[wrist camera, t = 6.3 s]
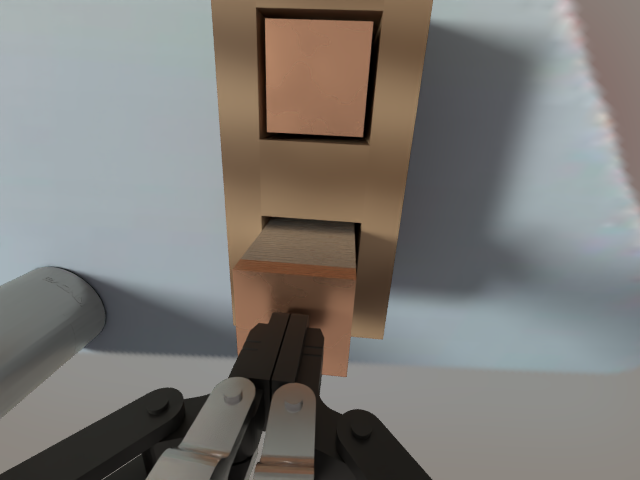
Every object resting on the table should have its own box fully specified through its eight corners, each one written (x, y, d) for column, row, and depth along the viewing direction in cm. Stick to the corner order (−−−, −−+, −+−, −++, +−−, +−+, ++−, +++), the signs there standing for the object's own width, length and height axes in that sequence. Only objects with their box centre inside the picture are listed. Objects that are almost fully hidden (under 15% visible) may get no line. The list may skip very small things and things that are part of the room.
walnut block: (373, 274, 29) (382, 339, 20) (266, 266, 29) (233, 325, 21) (405, 15, 21) (440, -49, 13) (261, 11, 22) (207, -52, 14)
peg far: (358, 129, 24) (362, 137, 16) (294, 126, 24) (266, 131, 16) (364, 55, 22) (373, 21, 14) (295, 53, 23) (265, 18, 15)
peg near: (347, 282, 22) (346, 377, 14) (278, 276, 23) (238, 366, 14) (353, 215, 20) (356, 279, 12) (277, 209, 21) (232, 269, 13)
